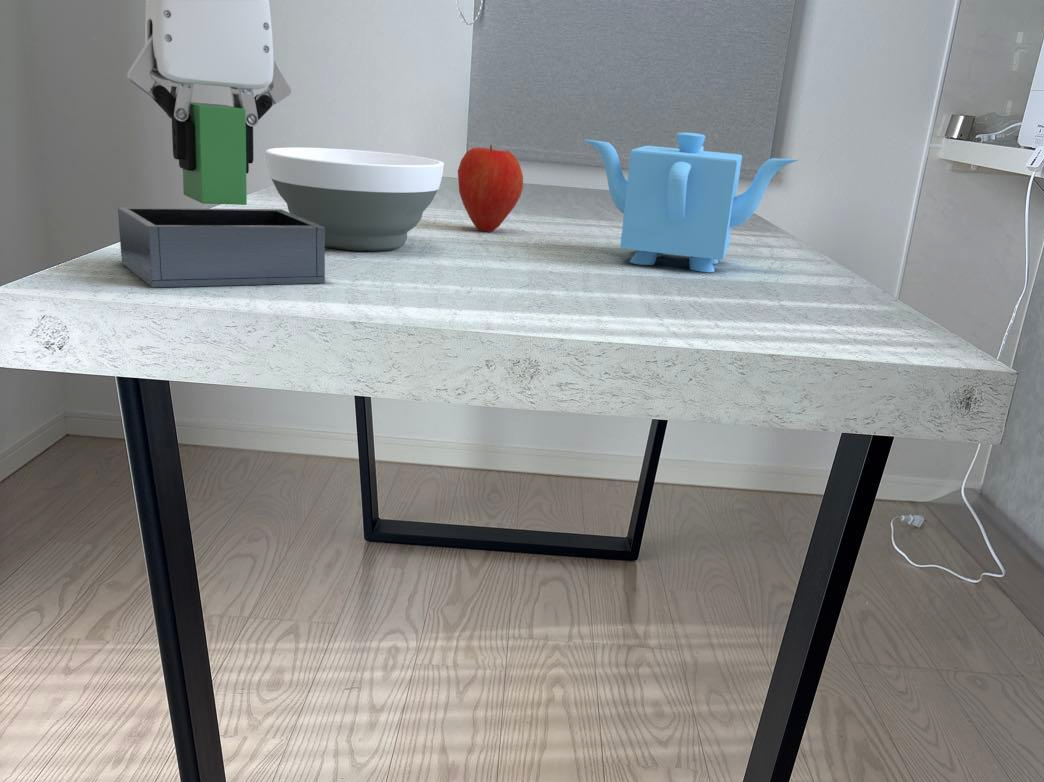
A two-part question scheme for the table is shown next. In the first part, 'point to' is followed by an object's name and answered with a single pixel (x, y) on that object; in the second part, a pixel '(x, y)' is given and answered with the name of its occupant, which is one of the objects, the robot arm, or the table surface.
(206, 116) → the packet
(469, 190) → the apple
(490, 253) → the table surface
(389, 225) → the bowl
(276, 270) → the grey open box
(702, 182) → the teakettle
